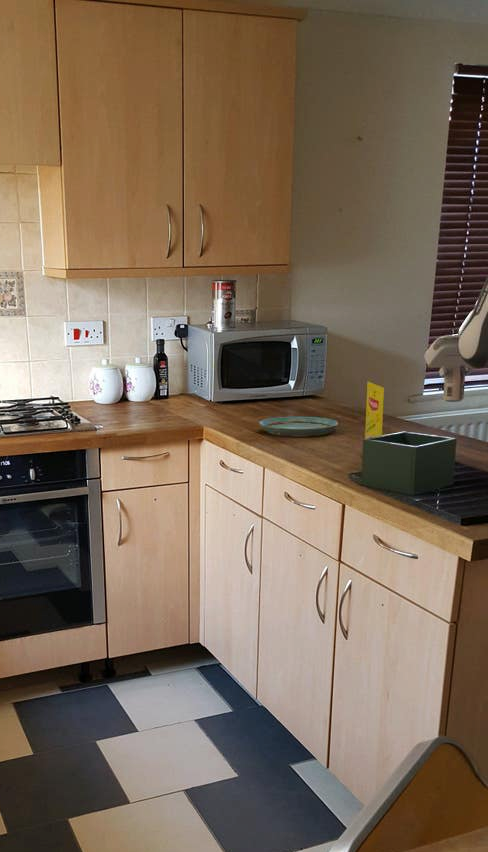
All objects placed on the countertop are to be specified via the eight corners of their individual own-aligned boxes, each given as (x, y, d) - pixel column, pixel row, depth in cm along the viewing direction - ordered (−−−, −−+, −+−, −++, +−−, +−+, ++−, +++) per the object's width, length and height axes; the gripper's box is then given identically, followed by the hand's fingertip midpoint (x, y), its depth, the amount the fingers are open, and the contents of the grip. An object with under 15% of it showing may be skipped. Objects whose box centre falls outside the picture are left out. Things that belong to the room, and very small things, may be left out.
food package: (362, 457, 233) (365, 381, 227) (366, 457, 233) (369, 381, 227) (377, 469, 219) (381, 388, 212) (382, 468, 219) (386, 387, 212)
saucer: (302, 442, 258) (302, 430, 257) (243, 433, 276) (243, 423, 275) (353, 431, 273) (353, 420, 272) (294, 423, 290) (294, 413, 289)
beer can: (466, 401, 214) (469, 351, 210) (446, 402, 214) (449, 352, 210) (459, 399, 219) (462, 350, 215) (440, 400, 219) (443, 350, 215)
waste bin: (453, 485, 199) (456, 438, 196) (413, 496, 191) (416, 447, 187) (400, 476, 210) (403, 431, 207) (360, 485, 202) (362, 439, 198)
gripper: (444, 346, 199) (419, 386, 211) (522, 341, 204) (494, 380, 216) (434, 325, 202) (411, 366, 214) (512, 321, 207) (485, 361, 219)
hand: (453, 373), depth 215 cm, fingers closed on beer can, 5 cm apart
